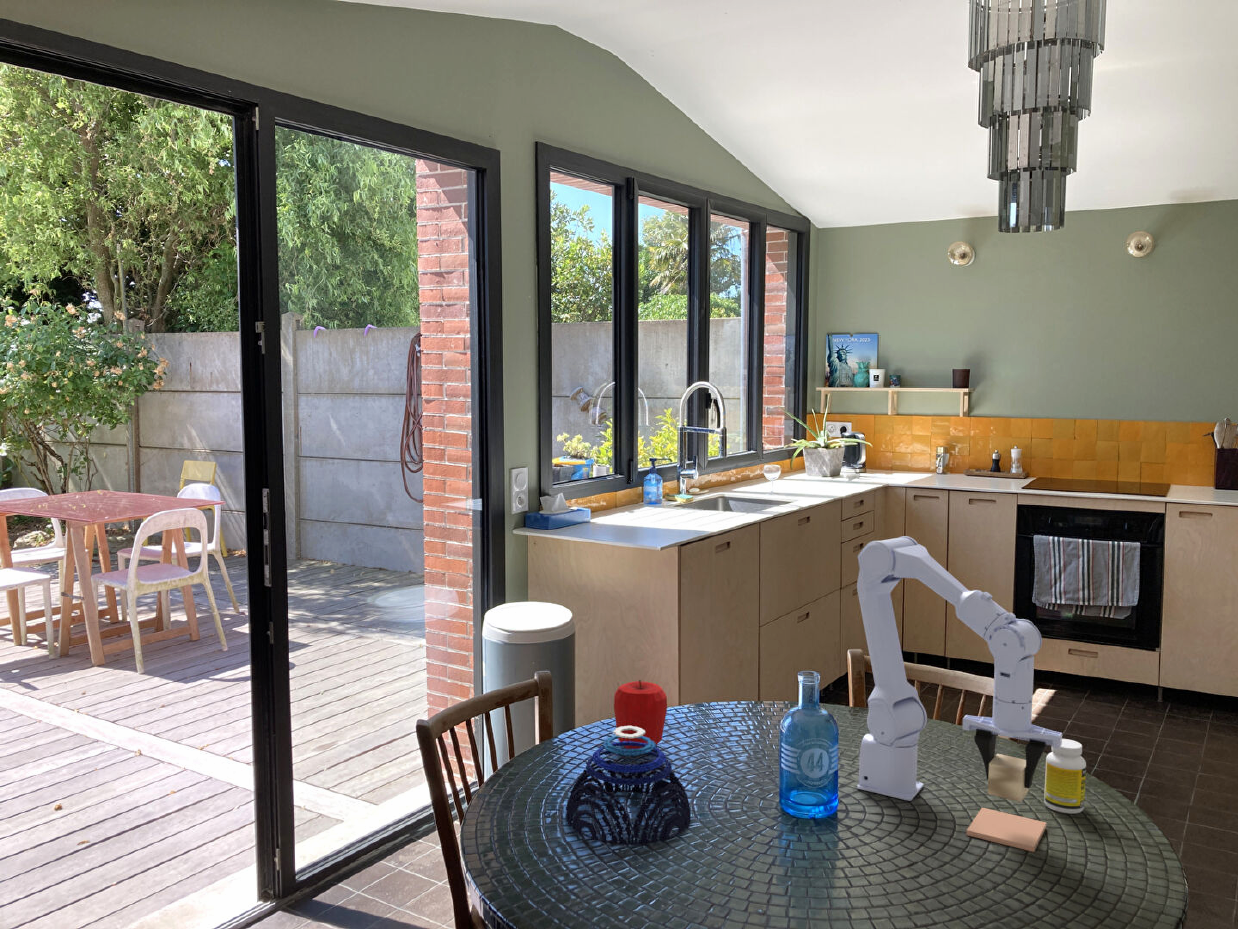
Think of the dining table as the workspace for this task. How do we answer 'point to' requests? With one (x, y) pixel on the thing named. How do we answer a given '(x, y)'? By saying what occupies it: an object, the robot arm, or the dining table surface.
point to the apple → (641, 710)
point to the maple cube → (1007, 777)
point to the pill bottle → (1065, 778)
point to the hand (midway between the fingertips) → (1009, 781)
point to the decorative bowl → (641, 769)
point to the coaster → (1007, 829)
